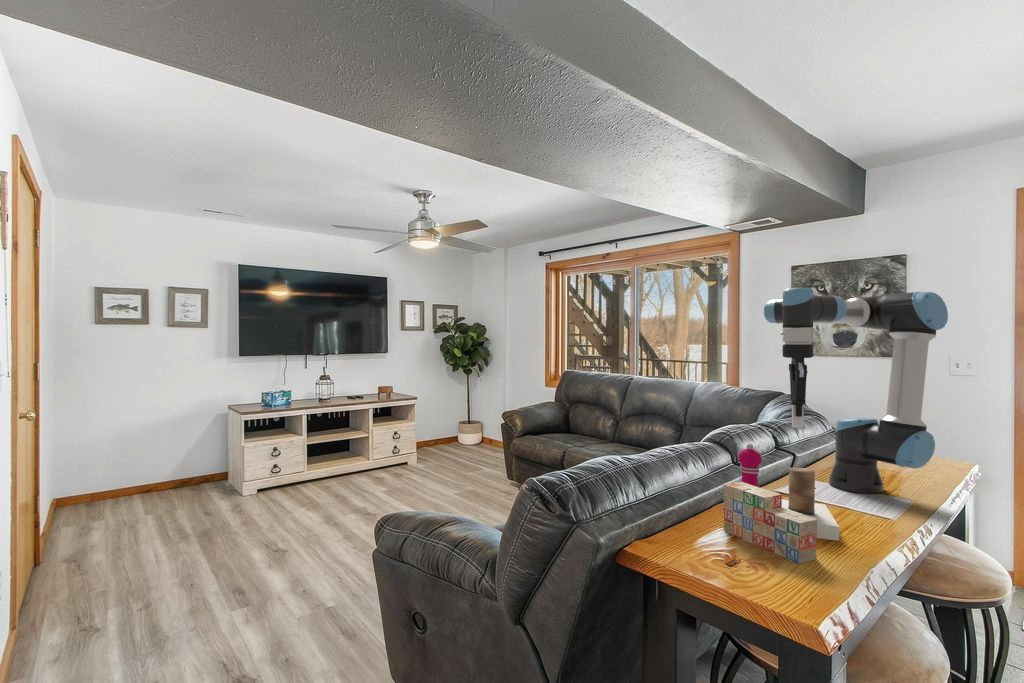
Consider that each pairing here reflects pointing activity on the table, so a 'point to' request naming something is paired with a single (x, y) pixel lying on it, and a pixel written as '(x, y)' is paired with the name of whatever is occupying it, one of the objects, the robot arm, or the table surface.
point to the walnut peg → (801, 490)
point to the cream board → (822, 521)
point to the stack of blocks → (769, 522)
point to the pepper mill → (749, 465)
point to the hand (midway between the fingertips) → (797, 427)
